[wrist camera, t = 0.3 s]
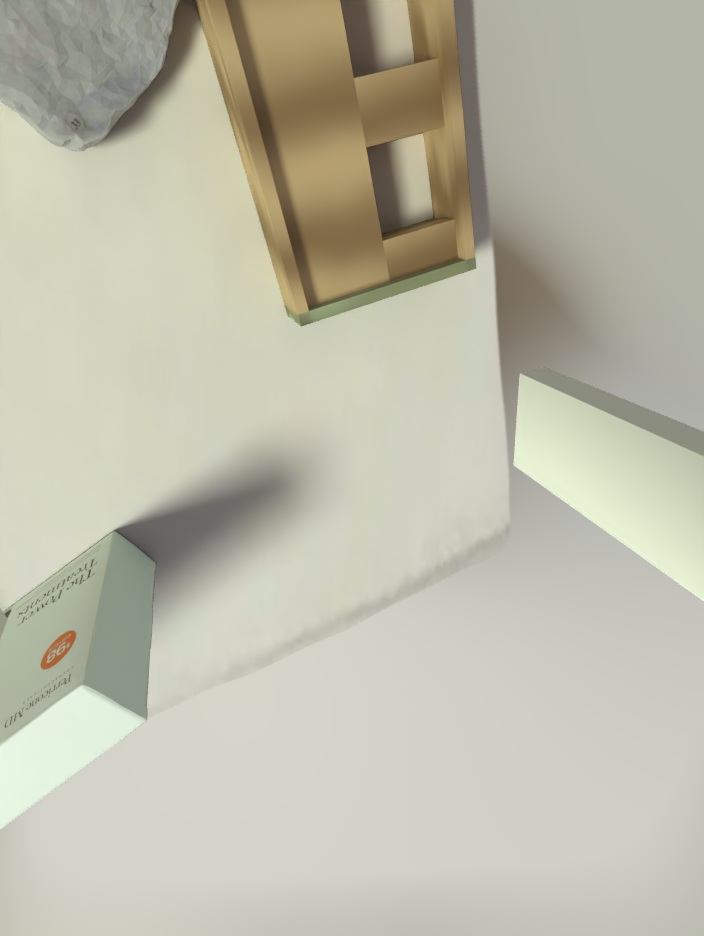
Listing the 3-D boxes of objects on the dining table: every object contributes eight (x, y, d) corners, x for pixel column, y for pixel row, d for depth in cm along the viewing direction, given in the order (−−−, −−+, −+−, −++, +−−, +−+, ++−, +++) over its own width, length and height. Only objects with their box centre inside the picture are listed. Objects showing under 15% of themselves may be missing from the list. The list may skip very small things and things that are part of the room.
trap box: (145, -167, 24) (143, -229, 20) (396, -200, 26) (431, -259, 23) (287, 315, 36) (301, 326, 33) (448, 263, 39) (476, 268, 35)
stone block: (191, -10, 28) (-11, -228, 22) (212, -25, 25) (-20, -288, 18) (97, 177, 31) (-109, 35, 24) (104, 187, 28) (-132, 26, 21)
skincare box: (109, 523, 39) (85, 683, 26) (158, 561, 42) (158, 722, 29) (-103, 681, 39) (-237, 924, 26) (-39, 708, 42) (-129, 938, 29)
